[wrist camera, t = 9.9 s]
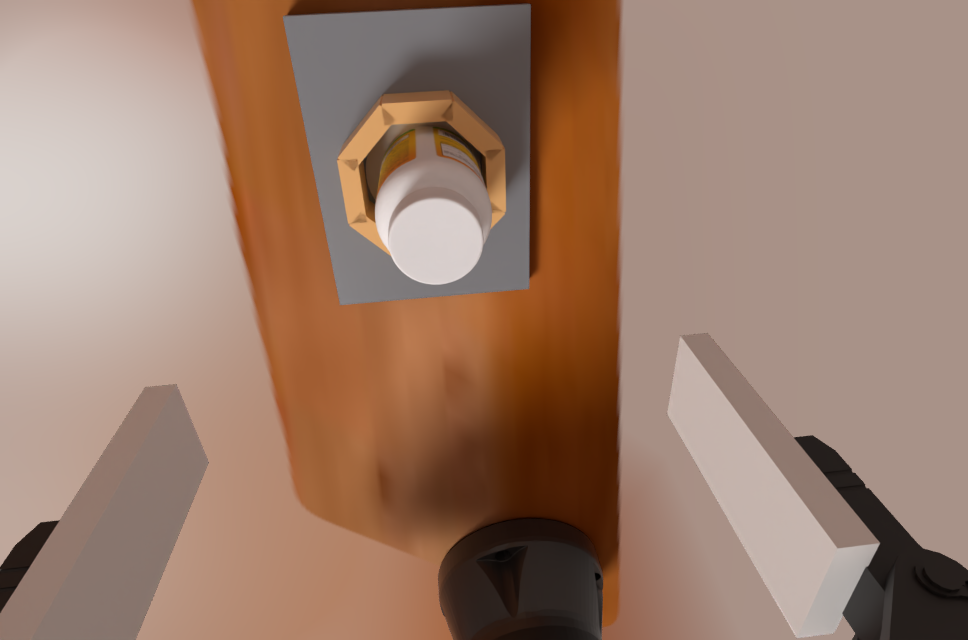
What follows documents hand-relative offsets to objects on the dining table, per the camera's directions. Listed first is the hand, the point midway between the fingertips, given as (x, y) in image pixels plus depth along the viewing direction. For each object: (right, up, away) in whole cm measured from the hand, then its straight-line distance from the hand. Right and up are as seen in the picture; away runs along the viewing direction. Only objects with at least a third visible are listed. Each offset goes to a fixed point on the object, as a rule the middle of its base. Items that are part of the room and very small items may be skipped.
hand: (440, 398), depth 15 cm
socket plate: (-2, +11, +17) cm, 21 cm away
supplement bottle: (-2, +10, +17) cm, 20 cm away
